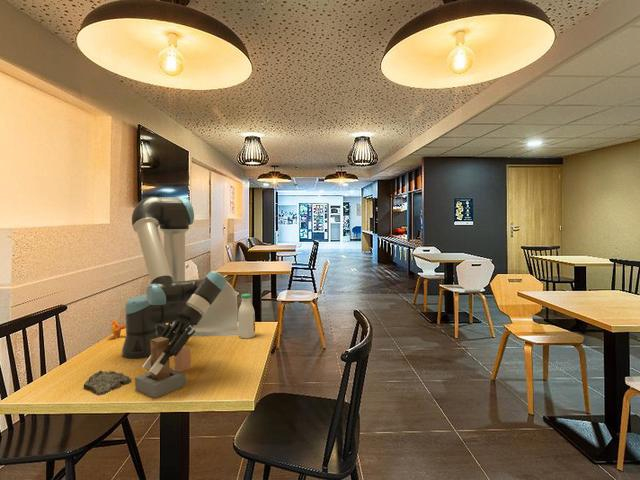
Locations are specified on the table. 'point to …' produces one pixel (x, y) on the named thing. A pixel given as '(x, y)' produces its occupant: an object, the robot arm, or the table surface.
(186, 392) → the table surface
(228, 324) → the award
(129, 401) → the table surface
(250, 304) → the milk bottle
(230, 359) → the table surface
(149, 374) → the collar
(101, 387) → the stone slab
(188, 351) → the short peg
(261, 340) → the table surface
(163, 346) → the long peg
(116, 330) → the dragon figurine
